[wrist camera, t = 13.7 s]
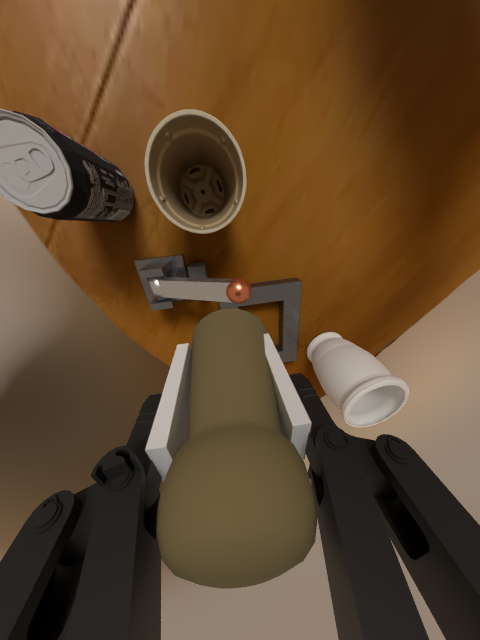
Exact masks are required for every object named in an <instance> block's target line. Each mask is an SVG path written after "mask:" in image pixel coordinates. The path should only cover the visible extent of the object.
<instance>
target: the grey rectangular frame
mask: <svg viewBox="0 0 480 640" xmlns="http://www.w3.org/2000/svg"><path fill="white" fill-rule="evenodd" d="M301 284H302V281H301V280H299V279H298V278H290V279H283V280H275V281H267V282H260V283H252V284H250V286H251V295H250V297H249V299H248V300H247V301H246V302H244V303H241V304H236V303H231V302H219V303H220V310H221V309H233V308H237V309H238V307H239V306H246V305H253V304H261V303H268V302H275V301H280V321H279V345H275V348H276V350H277V352H278V354H279V356H280V358H281V360H282V362H289V361H295V360H296V359H297V344H298V329H299V314H300V299H301Z"/></svg>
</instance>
